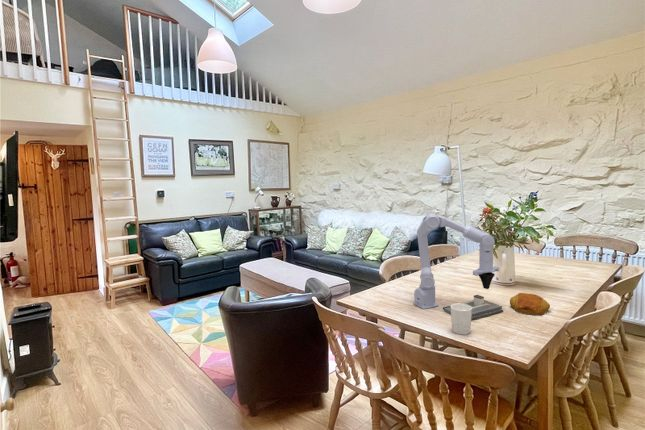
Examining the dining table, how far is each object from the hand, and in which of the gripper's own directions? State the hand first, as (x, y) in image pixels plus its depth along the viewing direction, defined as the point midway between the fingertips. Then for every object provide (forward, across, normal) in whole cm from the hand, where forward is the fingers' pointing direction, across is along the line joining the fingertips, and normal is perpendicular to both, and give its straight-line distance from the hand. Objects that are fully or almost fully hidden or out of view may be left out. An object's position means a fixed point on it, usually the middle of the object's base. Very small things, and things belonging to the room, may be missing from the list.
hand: (486, 288), depth 162 cm
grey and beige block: (+7, -5, 0) cm, 9 cm away
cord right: (+9, -9, -7) cm, 14 cm away
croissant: (+10, +14, -11) cm, 20 cm away
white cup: (+9, -29, -13) cm, 33 cm away
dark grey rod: (+9, -9, +8) cm, 15 cm away
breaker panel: (+9, -8, 0) cm, 12 cm away
